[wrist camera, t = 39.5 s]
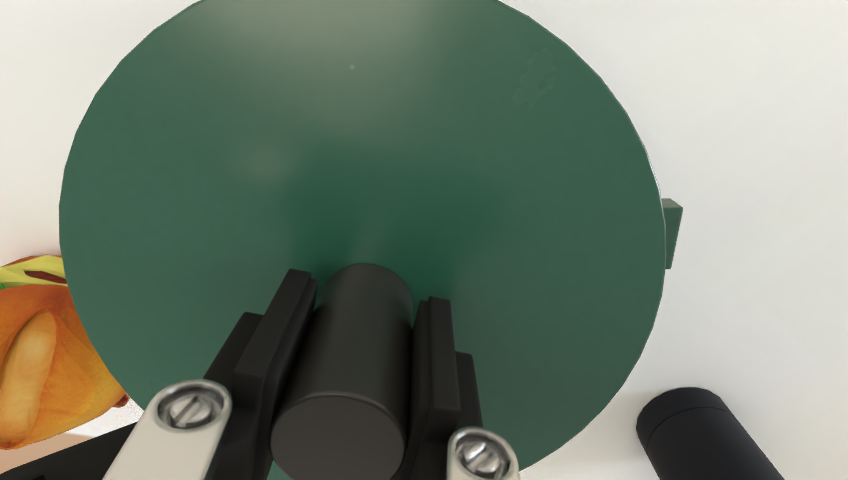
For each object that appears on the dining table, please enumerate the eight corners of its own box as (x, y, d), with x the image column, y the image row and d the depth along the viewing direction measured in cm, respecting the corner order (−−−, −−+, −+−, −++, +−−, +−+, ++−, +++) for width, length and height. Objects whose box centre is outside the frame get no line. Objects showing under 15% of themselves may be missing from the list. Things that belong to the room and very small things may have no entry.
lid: (-10, -17, 11) (-458, -61, 5) (702, -43, 11) (1002, -115, 5) (169, 480, 18) (52, 688, 12) (609, 469, 18) (695, 676, 12)
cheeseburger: (-54, 256, 29) (-216, 348, 20) (130, 215, 31) (59, 283, 22) (27, 386, 33) (-76, 512, 24) (187, 344, 35) (147, 446, 25)
